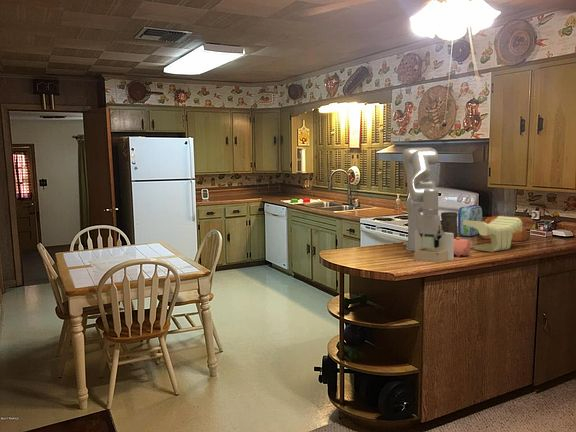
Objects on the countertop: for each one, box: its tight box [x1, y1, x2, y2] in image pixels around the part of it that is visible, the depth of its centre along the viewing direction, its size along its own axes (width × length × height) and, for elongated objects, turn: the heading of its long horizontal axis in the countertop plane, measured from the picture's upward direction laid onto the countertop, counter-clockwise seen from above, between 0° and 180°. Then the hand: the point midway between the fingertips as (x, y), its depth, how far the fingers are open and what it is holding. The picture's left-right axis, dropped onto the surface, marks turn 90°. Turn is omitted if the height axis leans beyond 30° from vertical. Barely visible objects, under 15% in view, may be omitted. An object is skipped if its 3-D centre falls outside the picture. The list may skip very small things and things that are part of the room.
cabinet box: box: [422, 234, 439, 249], centre depth 252 cm, size 6×7×8 cm
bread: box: [480, 215, 528, 242], centre depth 314 cm, size 14×26×16 cm, turn 47°
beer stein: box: [440, 211, 458, 239], centre depth 306 cm, size 15×11×20 cm
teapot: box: [454, 236, 472, 258], centre depth 263 cm, size 14×12×10 cm
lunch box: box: [457, 204, 483, 237], centre depth 336 cm, size 26×11×21 cm, turn 141°
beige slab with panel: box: [413, 230, 455, 264], centre depth 255 cm, size 22×12×14 cm, turn 42°
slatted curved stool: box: [463, 215, 522, 253], centre depth 277 cm, size 30×16×18 cm, turn 118°
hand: (430, 246), depth 253 cm, fingers closed on cabinet box, 6 cm apart
